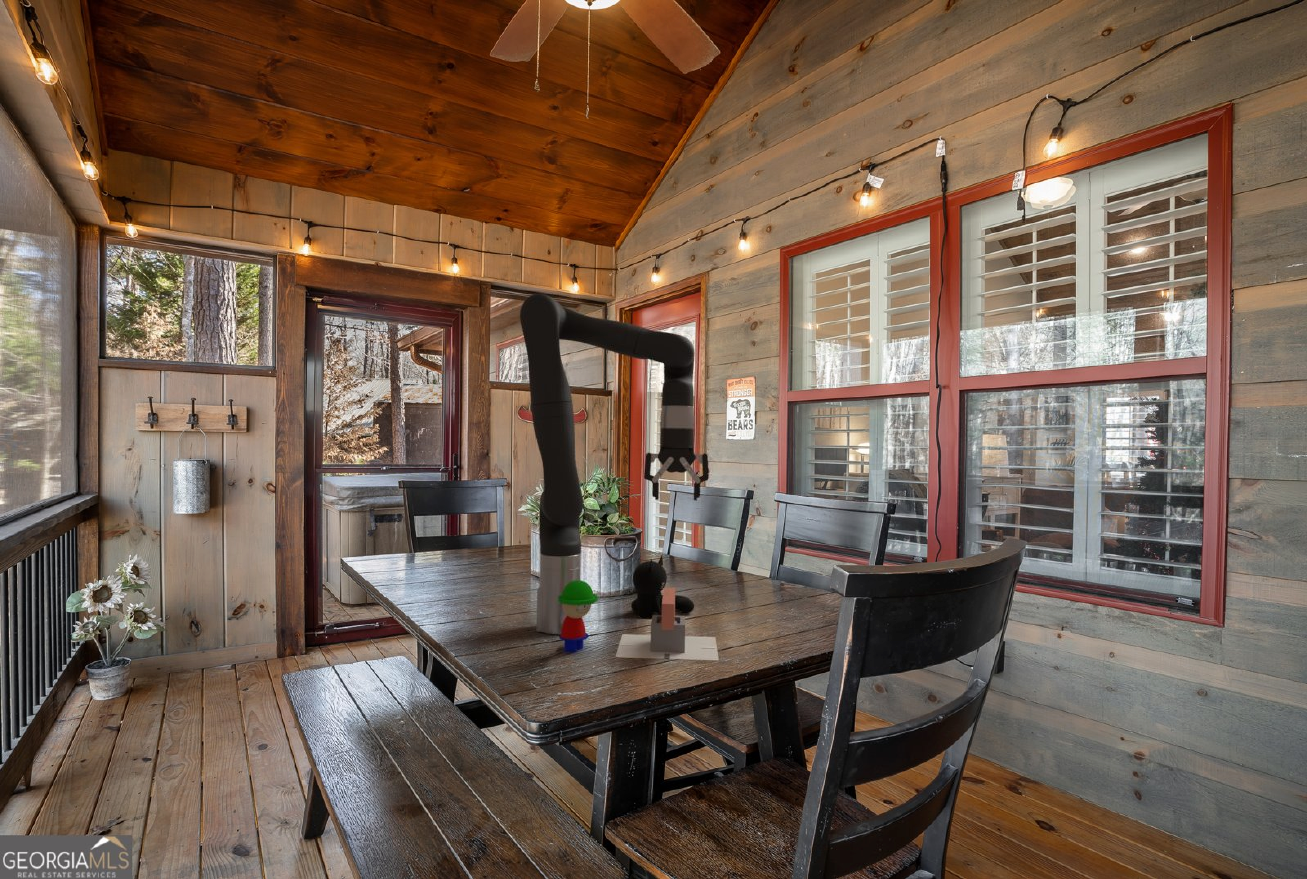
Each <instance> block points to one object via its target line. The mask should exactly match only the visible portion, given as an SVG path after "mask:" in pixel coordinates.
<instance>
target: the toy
mask: <svg viewBox="0 0 1307 879" xmlns="http://www.w3.org/2000/svg"><path fill="white" fill-rule="evenodd" d="M598 597H599V596H598V595H597V594H595V593H594V591H593V588H592V587H591V585H590V584H589V583H588V582H586V581H585V580H575V581H572V582H570V583H568V584H567V585H566V586H565V588H564V589H563V592H562V594H561V595H559V596H558V601H559V602H560V603H562V608H563V611H564V612H565V614H566V615H567V616H566V618H565V619H564V622H563V624H562V629H561V634H558V637H559V639H560V640H562V641H564V642H563V643H564V650H563V651H564V653H569V654H570V653H576V652H577V651H579V650H583V649H584V640H587V639H588V638H589V634H588V633H587V632H586V625H585V622H584V620H583V617H585V616H586V615H587V614H588V613H589V612H590V611H591V608H592V604H594V603H598V601H599V598H598Z"/></svg>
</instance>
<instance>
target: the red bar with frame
mask: <svg viewBox="0 0 1307 879" xmlns="http://www.w3.org/2000/svg"><path fill="white" fill-rule="evenodd" d="M662 592H663V593H662V595H663V599H662V615H653V616H652V618H651V623H650V635H651V651H650V652H673V653H685V636H686V615H675V614H676V609H675V595H676V588H675V587H664V588H663V591H662ZM661 620H662V623H659V622H660V621H661ZM674 621H677V623H674Z"/></svg>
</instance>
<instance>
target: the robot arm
mask: <svg viewBox="0 0 1307 879" xmlns="http://www.w3.org/2000/svg"><path fill="white" fill-rule="evenodd" d="M519 322H520V326H521V329H522V335H523V340H524V344H525V349H526V355H527V356H526V357H527V363H528V382H529V393H530V394H529V396H530V407H531V418H532V426H533V429H534V430H533V432H534V435H535V440H536V443H537V444H536V445H537V447H538V450H539V453H540V454H539V455H540V457H541V462H542V471H543V491H542V493H541V495H540V497H539V498H540V499H539V515H538V516H539V525H538V526H539V528H538V529H539V531H538V532H539V535H538V536H539V538H538V539H539V587H538V588H537V590H536V629H535V630H536V632H540V633H545V634H548V635H560V634H561V629H562V624H563V622H564V619H565V618H566V616H567V615H566V614H565V612H564V611H563V608H562V603H560V602H559V601H558V596H559V595H561V594H562V592H563V589H564V588H565V586H566V585H567V584H568V583H570V582H572V581H575V580H581V573H582V572H581V570H582V568H581V567H582V565H581V564H582V563H581V562H582V541H581V532H580V531H581V530H580V517H581V515H582V513H583V509H584V501H585V500H584V496H583V492H582V488H581V484H580V480H579V473H578V468H577V460H576V432H575V416H574V404H573V396H572V392H571V386H570V385H569V384H570V383H569V380H568V377H567V374H566V371H565V369H564V365H563V364H564V363H563V361H562V357H561V349H560V348H561V347H560V340H565V341H571V342H577V343H582V344H587V345H590V346H592V347H597V348H600V349H603V350H606V351H610V352H611V353H612V352H613V353H616V354H619V355H623V356H627V357H631V358H635V359H639V360H651V361H653V362H658V363H661V364H663V384H662V391H661V411H660V421H659V426H660V429H659V430H660V432H659V434H660V435H659V437H660V438H659V452H658V453H651V452H647V453H646V454H645V460H644V461H645V462H644V474H643V478H644V480H646V481H650V482H651V484H652V487H651V491H652V493H651V496H652V498H654V500H655V501H656V500H657V501H658V500H659V498H660V493H659V492H660V491H659V489H660V487H659V486H660V483H659V480H660V479H661V477H662V475H664V473H665V472H666V471H667V472H668V473H679V474H680V473H681V474H682V473H686V472H687V473H688V475H689V476H690V477H691V479H692V480H693V481H694V483H693V501H698V499H699V498H700V497H701V484H702V482H705V481H708V480H709V477H710V476H709V459H708V458H709V456H708V454H707V453H702V454H701V453H700V454H696V453H695V451H694V450H695V424H696V423H695V412H694V391H695V390H694V384H693V380H694V367H695V347H694V344H693V343H692V341H691V340H690V339H689V338H687V337H686V336H684V335H681V334H678V333H677V334H676V333H672V332H666V331H659V330H652V329H649V328H646V327H643V326H639V325H635V324H632V323H627V322H623V321H618V320H613V319H605V318H599V317H594V316H589V315H585V314H583V313H579V312H576V311H574V310H572V309H570V308H568V307H565V306H564V305H561V304H560V303H559V302H558V301H557V300H556V299H554V298H552V296H549V295H547V294H544V293H533V294H531V295H529V296H528V297H527V298H525V299H524V302H523V303H522V305H521V307H520V310H519ZM656 459H658V461H659V463H661V467H660V468H659V470H658V471H657V472H656V473H655V475H652V474H651V471H652V470H651V469H652V468H651V467H652V463H654V462H655V461H656ZM696 460H698V463H699V464H701V465H702V475H701V476H698V474H697V473H696V471H695V470H694V469H693V467H692V464H693V463H694V462H695V461H696ZM581 581H582V580H581Z"/></svg>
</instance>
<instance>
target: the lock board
mask: <svg viewBox="0 0 1307 879" xmlns="http://www.w3.org/2000/svg"><path fill="white" fill-rule="evenodd" d="M659 623H662V620H661V621H660V622H659ZM674 623H677V621H674ZM650 651H651V634H623V633H622V635H621V638H620V641H619V644H618V647H617V650H616V654H615V656H614V657H615V658H626V659H627V658H628V659H629V658H630V659H632V658H634V659H655V660H656V659H657V660H659V659H660V660H663V659H664V660H691V661H692V660H693V661H718V662H719V661H720V660H719V654H718V647H717V640H716V636H694V635H693V636H692V635H691V636H690V635H689V636H687V635H685V653H673V652H650Z"/></svg>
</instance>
